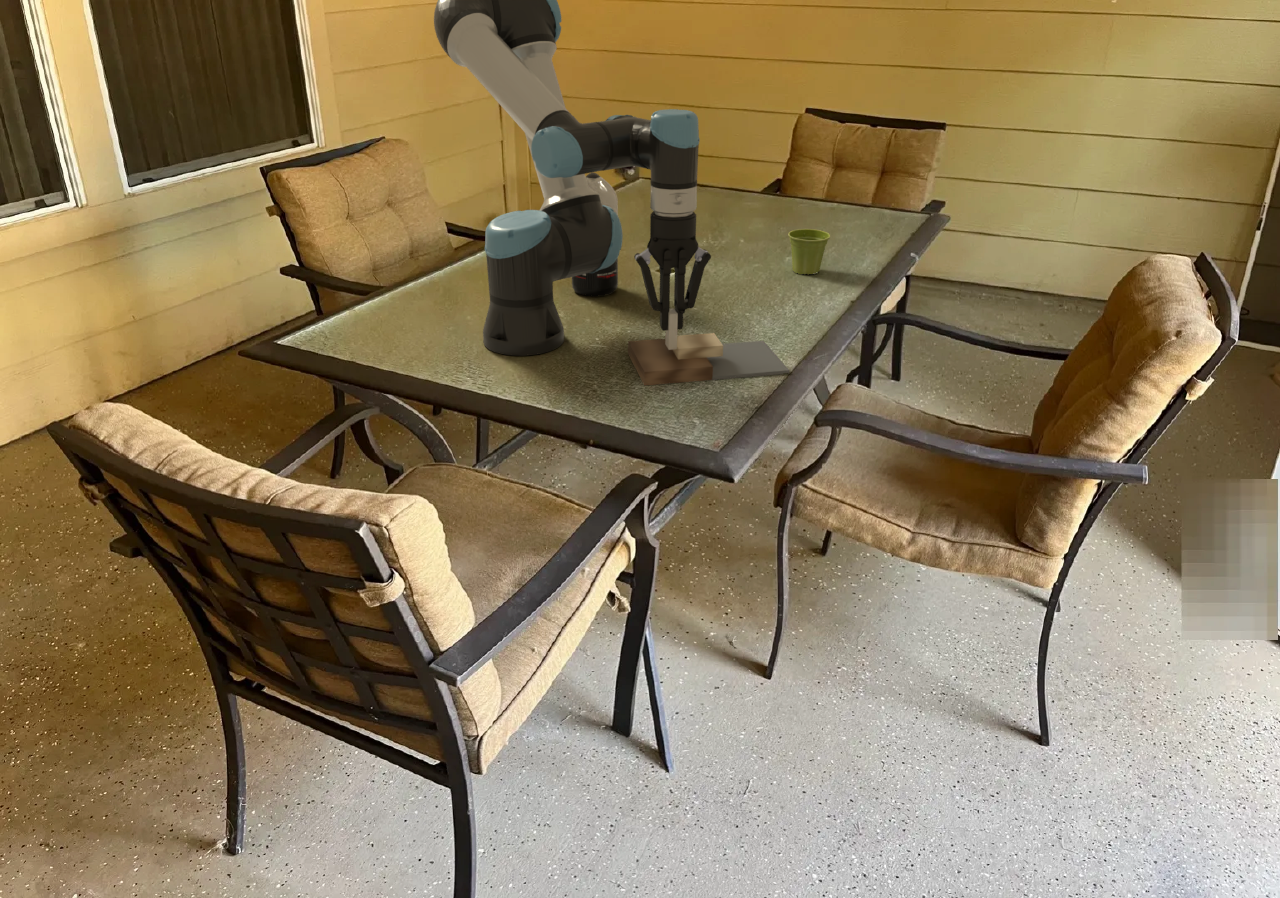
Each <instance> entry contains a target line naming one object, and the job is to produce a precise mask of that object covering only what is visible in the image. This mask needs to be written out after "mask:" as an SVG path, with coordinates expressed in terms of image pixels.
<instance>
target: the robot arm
mask: <svg viewBox="0 0 1280 898" xmlns="http://www.w3.org/2000/svg"><path fill="white" fill-rule="evenodd" d="M433 14H434V15H433V26H434V32H435V35H436V38H437V40H438V43H439V45H440V46H441V48H442V49H443V51H444V53H446V55H447V56H448V57H449V58H450V59H451V61H452V62H453V63H455V64H456V65H457V66H460V67H464V68H466V69H467V70H469V72H470V73H471V74H472V75H473V76H474V78H476V79H477V81H478V82H479V83H480V85H482V86H483V87H484V88H485V90H486V91H487V92H488V93H489V94H490V95H491V96H492V98H494V100H495V101H496V102H497V104H499V105H500V106H501V108H502V109H503V110H504V111H505V112H506V113H507V114H508V116H509V117H510V118H511V119H512V120H513V121H514V122H515V123H516V124H517V126H518V127H519V128H521V130H522V131H523V132H524V135H525V138H526V141H527V145H528V148H529V152H530V155H531V158H532V162H533V165H534V166H533V167H534V168H535V172H536V175H537V178H538V179H537V180H538V182H539V186H540V188H541V192H542V196H543V198H544V199H543V203H542V205H541V207H540V209H525V210H522V211H521V210H514V211H511V212H507V213H503V214H501V215H498V216H497V217H495V218H494V219H493V218H492V220H491V221H490V222H489V223H488V225H487V226H486V228H485V236H484V237H485V242H484V244H485V245H484V252H485V255H486V266H487V267H486V268H487V276H488V277H487V280H488V281H487V282H488V292H489V305H488V310H487V313H486V317H485V322H484V325H483V329H482V338H483V345H484V346H485V348H487V349H488V350H490V351H491V352H494V353H496V354H502V355H505V356H518V357H519V356H520V357H521V356H536V355H540V354H546V353H549V352H551V351H554V350H555V349H557V348H559V347H560V346H561V345H563V343H564V342H565V330H564V325H563V323H562V320H561V317H560V315H559V313H558V310H557V307H556V304H555V301H554V290H553V289H554V285H553V284H554V283H553V282H556V281H560V280H564V279H569V278H572V277H574V276H578V275H582V274H586V273H594V272H596V271H598V270H601V269H604V268H607V267H609V266H611V265H612V264H613V263H614V262H615V261H616V259H617V258H618V257H619V256H620V251H621V250H622V246H623V239H624V238H623V235H624V234H623V227H622V223H621V220H620V217H619V214H618V215H617V214H616V212H613V209H612V208H610V207H608V206H605V205H602V204H601V200H600V197H599V194H598V193H597V192H595V191H593V190H592V189H590V188H589V187H588V184H587V181H586V174H589V173H596V172H602V171H609V170H615V169H621V168H627V167H639V168H641V169H646V170H649V171H650V209H651V210H652V212H651V213H650V220H649V222H650V225H649V226H650V228H649V229H650V230H649V231H650V236H649V237H650V238H649V241H648V242H647V246H646V249H645V250H643V251H642V252H641V253H639V252H637V253H635V254H634V256H633V258H634V260H635V261H636V263H637V264H638V265H639V267H640V271H641V275H642V279H643V282H644V283H643V284H644V287H645V291H646V295H647V299H648V304H649V305H650V307H651V309H652V310H653V311H654V312H656V311H657V312H659V326H660V328H661V330H662V331H665V338H664V339H665V344H666V346H667V348H668V349H669V350H673V349H677V336H678V330H683V328H684V314H685V312H686V311H687V310H689V309H693V308H694V307H695V305H696V300H697V298H698V294H699V291H700V290H699V289H700V286H701V283H702V278H703V275H704V271H705V267H706V266H707V264H708V263H709V262H710V260H711V258H712V255H711V254H710V252H709V251H708V250H707V249H704V248H701V247H699V242H698V240H697V238H696V237H697V214H696V213H695V211H696V210H697V203H698V201H697V199H698V198H697V197H698V194H697V193H698V192H697V190H698V166H699V145H700V136H699V135H700V133H699V117H698V115H697V114H696V113H695V112H694V111H691V110H687V109H677V108H676V109H675V108H673V109H671V108H669V109H659V110H656V111H654V112H653V113H652V114H651V116H650V119H646V118H642V117H637V116H633V115H631V114H625V115H622V114H614V115H611V116H609V117H608V118H606V119H605V120H602V121H593V122H585V123H584V122H583V123H582V122H579V120H578V119H577V118H575V116H574V115H573V114H572V113H571V112H570V111H569V110H568V109H567V108H566V104H565V101H564V97H563V93H562V90H561V87H560V83H559V80H558V77H557V73H556V70H555V66H554V63H553V62H554V61H553V57H554V55H555V53H556V51H557V44H556V42H557V41H558V40H559V38H560V35H561V31H562V26H561V24H560V23H562V13H561V8H560V5H559V3H558V0H437V2H436V4H435V8H434V13H433ZM651 256H652V258H653V259H654V260H655V262H656V264H658V266H659V301H658V296H657V293H656V287H655V284H654V279H653V276H652V271H651V269H650V266H649V264H650V263H651ZM693 257H694V259H695V260H694V262H693V266H692V270H691V273H690V278H689V280H688V281H689V282H688V284H687V289H686V293H685V288H686V286H685V285H686V284H685V283H686V282H685V279H686V273H687V272H686V271H687V265H688V264H689V263H690V261H691V260H692V258H693ZM672 269H673V270H674V285H673V286H674V287H673V288H674V291H673V292H674V293H673V294H674V295H673V296H674V299H673V305H674V308H670V302H671V301H670V299H671V298H670V297H671V296H670V294H671V293H670V292H671V290H670V289H671V274H672V273H671V272H672V271H671V270H672Z"/></svg>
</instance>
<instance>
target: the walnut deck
mask: <svg viewBox="0 0 1280 898" xmlns="http://www.w3.org/2000/svg"><path fill="white" fill-rule="evenodd" d="M627 355H628V357H629V359H630V361H631V363H632V365H633V367H634V368H635V370H636V372H637V373H638V376H639V378H640V380H641V382H642V383H643V385H644V386H654V385H667V384H678V383H679V384H680V383H681V384H682V383H689V382H690V383H692V382H703V381H713V380H712V377H713V366H712V364H711V363H710V362H709V360H708V359H707V357H705V358H692V359H679V360H678V358H677V357H676V355H675V353H674V351H673V350H669V349H668V348H667V346H666V344H665V338H656V339H655V338H653V339H643V340H642V339H641V340H640V339H639V340H629V341H627Z"/></svg>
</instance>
